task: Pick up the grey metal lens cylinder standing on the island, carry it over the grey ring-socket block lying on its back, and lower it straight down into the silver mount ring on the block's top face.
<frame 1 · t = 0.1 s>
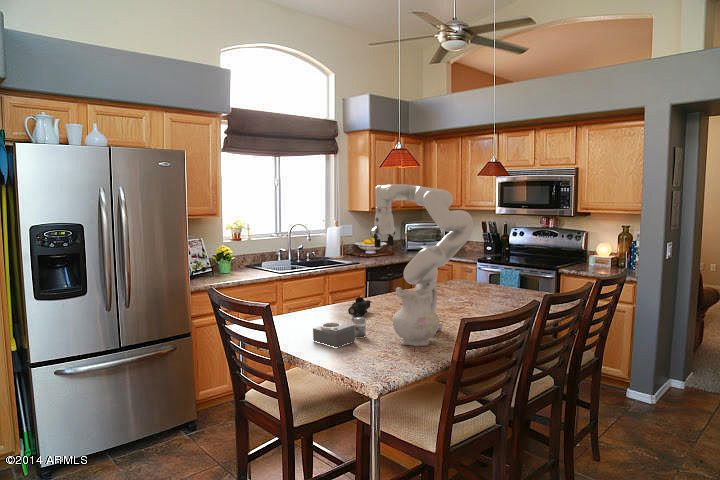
hand: (384, 246, 238), 37 cm above the table, tool pointing down, fingers open, 9 cm apart
night vision scope: (359, 315, 254), on the table
lens: (359, 336, 217), on the table
grey ring-socket block: (334, 342, 210), on the table
ceramic pitcher: (417, 342, 208), on the table
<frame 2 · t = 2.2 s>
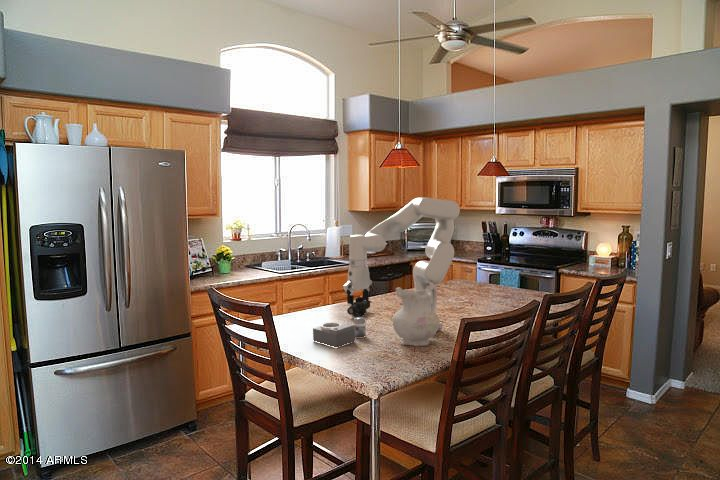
hand: (358, 302, 216), 15 cm above the table, tool pointing down, fingers open, 9 cm apart
nothing on the table moved.
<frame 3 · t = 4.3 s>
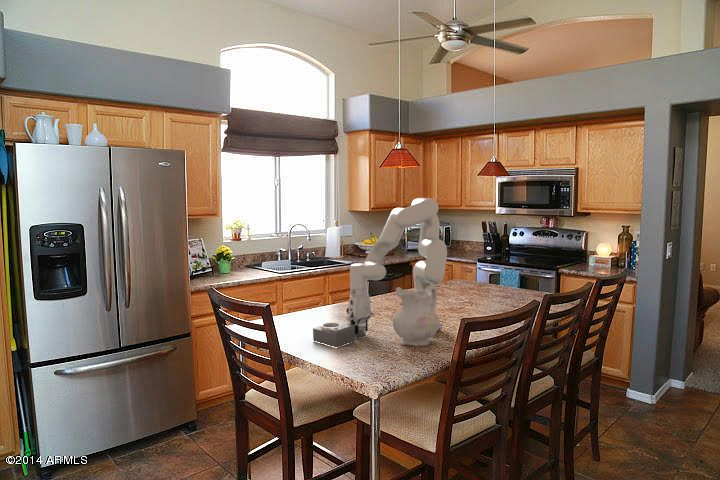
hand: (359, 331, 217), 2 cm above the table, tool pointing down, fingers closed on lens, 5 cm apart
lens: (359, 336, 217), on the table, touching gripper
everything else where it was.
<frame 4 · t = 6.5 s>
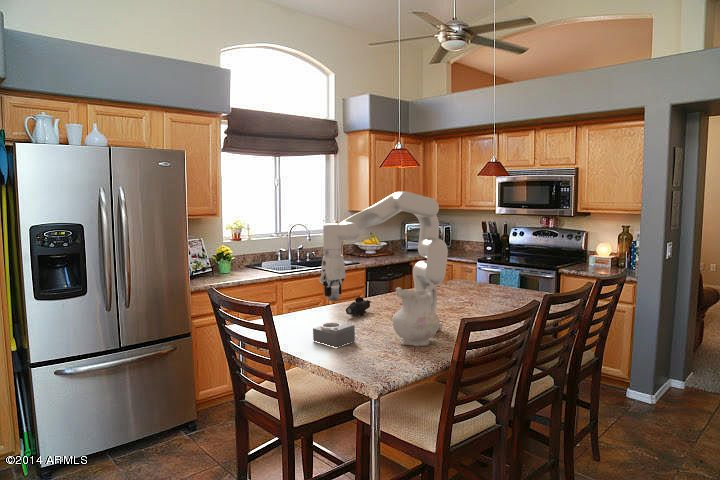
hand: (333, 294, 209), 20 cm above the table, tool pointing down, fingers closed on lens, 5 cm apart
lens: (333, 299, 210), point 18 cm above the table, touching gripper
everything else where it was.
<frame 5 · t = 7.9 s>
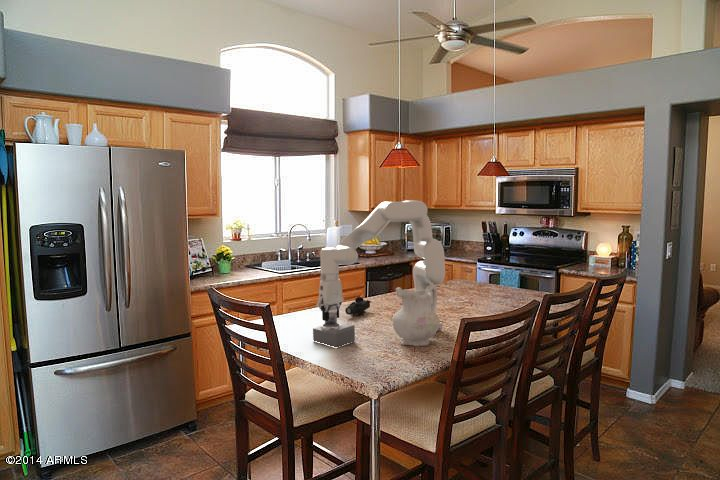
hand: (330, 318, 210), 10 cm above the table, tool pointing down, fingers closed on lens, 5 cm apart
lens: (330, 323, 210), point 8 cm above the table, touching gripper
everything else where it was.
when the fingers open (8 cm above the table, at t = 9.0 s): lens stays where it is, resting on grey ring-socket block.
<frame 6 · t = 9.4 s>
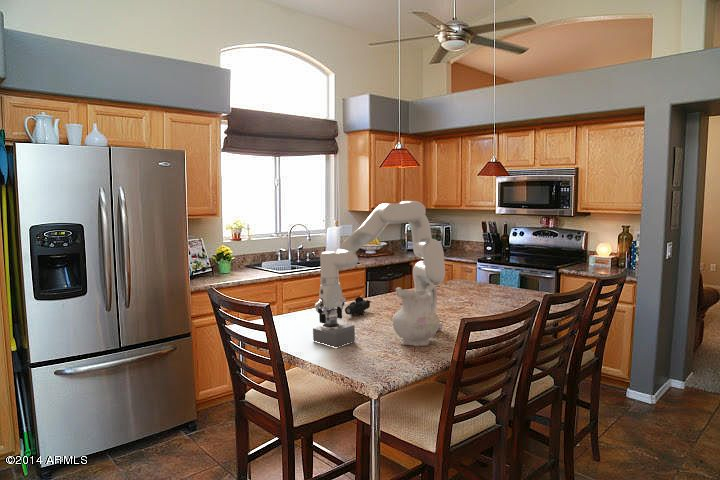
hand: (331, 320, 210), 9 cm above the table, tool pointing down, fingers open, 9 cm apart
lens: (331, 327, 210), point 6 cm above the table, touching grey ring-socket block
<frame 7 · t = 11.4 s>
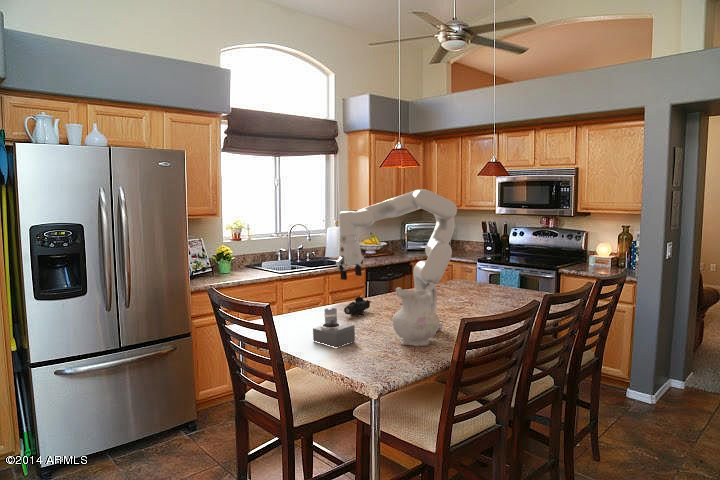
hand: (351, 277, 219), 26 cm above the table, tool pointing down, fingers open, 9 cm apart
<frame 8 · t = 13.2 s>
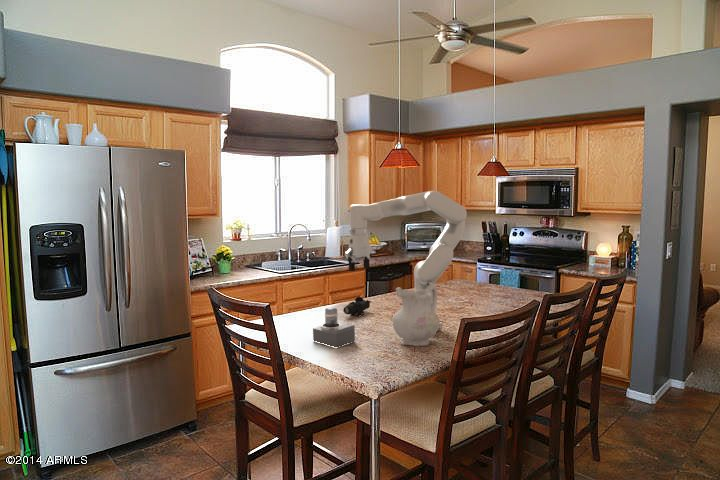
hand: (359, 269, 223), 28 cm above the table, tool pointing down, fingers open, 9 cm apart
at the end: lens 0.1 cm from the target spot on the grey ring-socket block, point 6.1 cm above the grey ring-socket block's base; lens tilted 2°; the gripper is holding nothing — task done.
